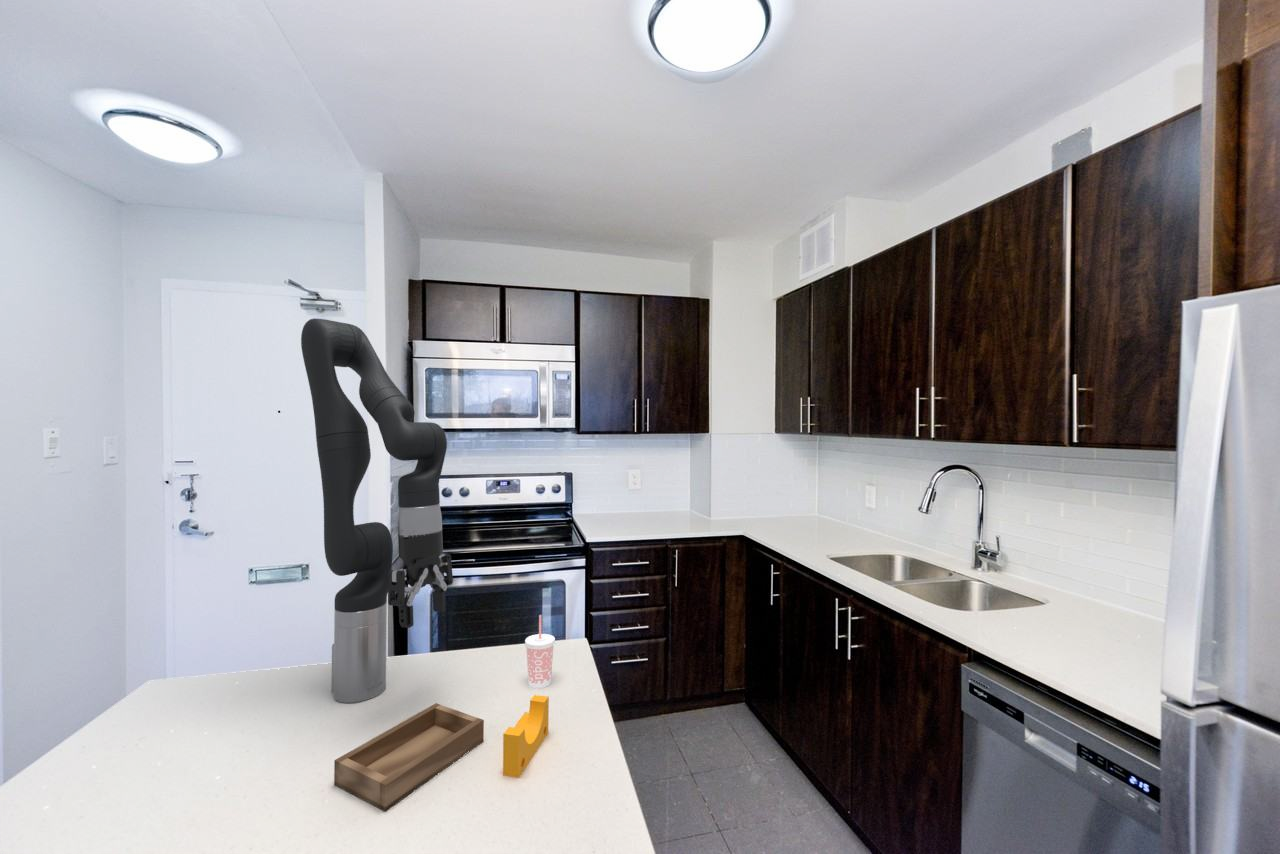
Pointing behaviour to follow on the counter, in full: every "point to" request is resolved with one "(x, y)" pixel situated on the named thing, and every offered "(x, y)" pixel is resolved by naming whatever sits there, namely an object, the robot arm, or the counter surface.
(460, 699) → the counter surface
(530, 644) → the beverage cup
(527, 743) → the pipe clamp
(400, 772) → the wooden tray
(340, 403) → the robot arm
